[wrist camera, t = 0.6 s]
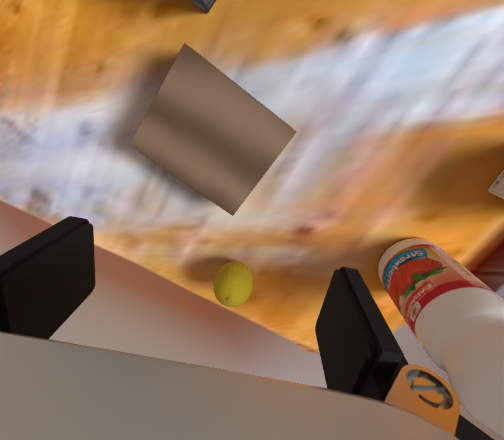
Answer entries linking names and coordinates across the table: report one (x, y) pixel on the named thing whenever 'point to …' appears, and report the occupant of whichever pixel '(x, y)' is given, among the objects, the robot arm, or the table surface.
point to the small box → (204, 4)
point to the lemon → (233, 284)
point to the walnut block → (210, 132)
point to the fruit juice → (451, 323)
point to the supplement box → (498, 186)
